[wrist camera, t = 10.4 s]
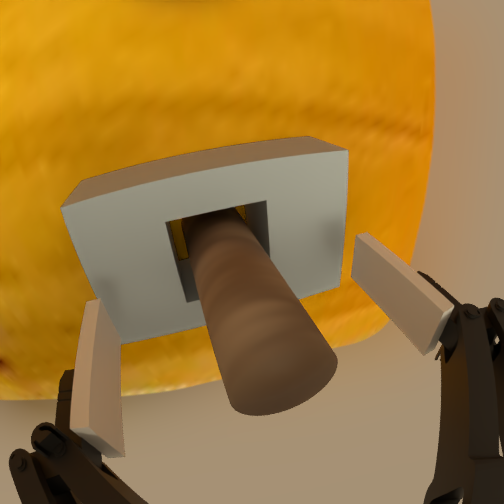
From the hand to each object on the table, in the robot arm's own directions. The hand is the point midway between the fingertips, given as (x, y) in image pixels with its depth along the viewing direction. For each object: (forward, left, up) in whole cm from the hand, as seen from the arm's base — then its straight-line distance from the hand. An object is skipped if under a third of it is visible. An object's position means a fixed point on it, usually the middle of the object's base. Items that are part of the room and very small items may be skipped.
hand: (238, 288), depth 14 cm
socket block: (0, 0, -8) cm, 8 cm away
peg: (0, 0, -8) cm, 8 cm away
